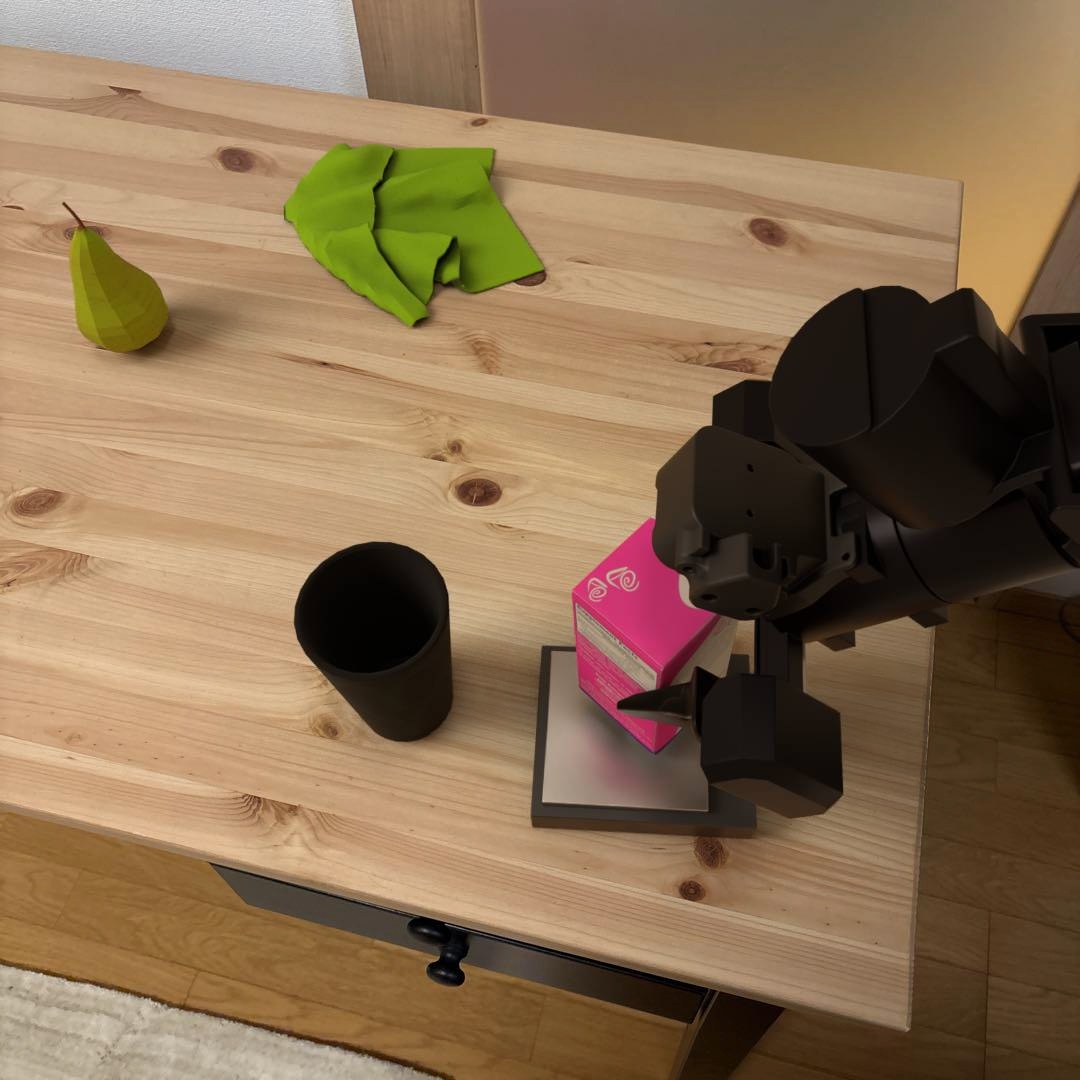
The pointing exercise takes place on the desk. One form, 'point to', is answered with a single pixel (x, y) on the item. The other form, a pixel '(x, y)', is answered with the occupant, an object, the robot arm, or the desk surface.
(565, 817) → the scale
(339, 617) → the cup
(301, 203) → the cloth
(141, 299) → the fruit
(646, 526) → the supplement box
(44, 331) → the desk surface
